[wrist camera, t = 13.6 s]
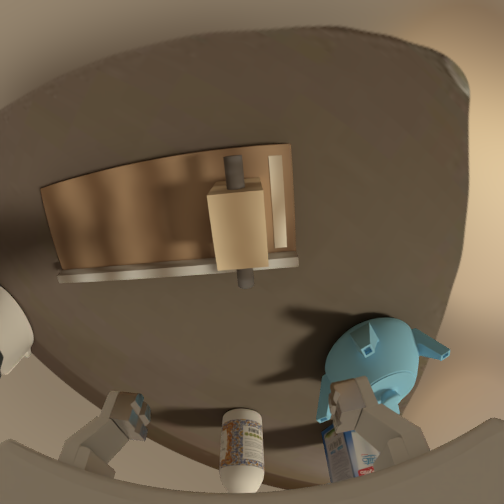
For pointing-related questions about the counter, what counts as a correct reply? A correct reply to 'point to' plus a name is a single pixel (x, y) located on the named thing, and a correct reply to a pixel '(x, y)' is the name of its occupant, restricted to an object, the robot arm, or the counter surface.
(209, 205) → the wooden block with pegs
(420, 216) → the counter surface
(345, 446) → the milk carton
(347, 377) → the teapot
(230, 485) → the bath foam
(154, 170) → the walnut board
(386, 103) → the counter surface
